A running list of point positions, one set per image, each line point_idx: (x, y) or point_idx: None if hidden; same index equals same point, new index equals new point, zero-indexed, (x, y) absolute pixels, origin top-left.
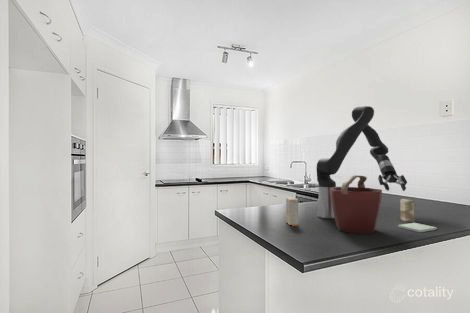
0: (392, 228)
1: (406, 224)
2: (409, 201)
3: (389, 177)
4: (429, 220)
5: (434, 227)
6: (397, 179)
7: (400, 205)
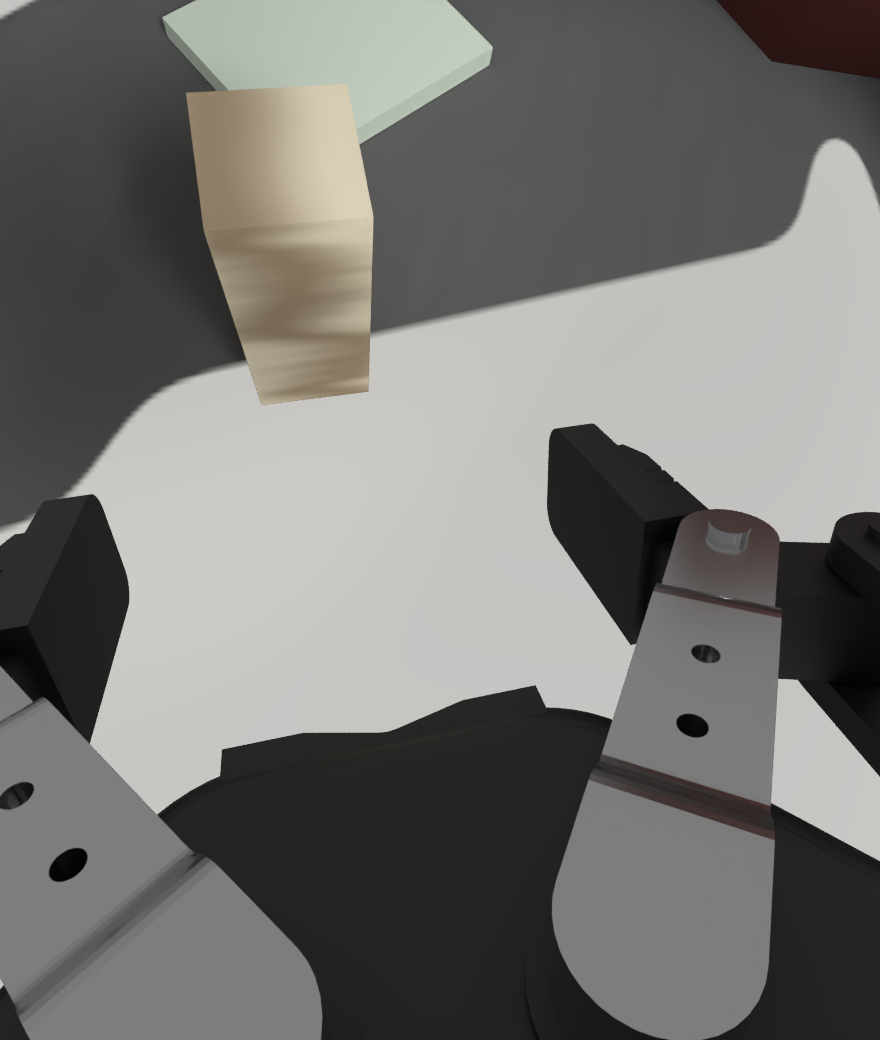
0: (546, 19)
1: (408, 77)
2: (266, 102)
3: (644, 773)
4: (13, 430)
5: (186, 10)
6: (113, 769)
7: (370, 284)
